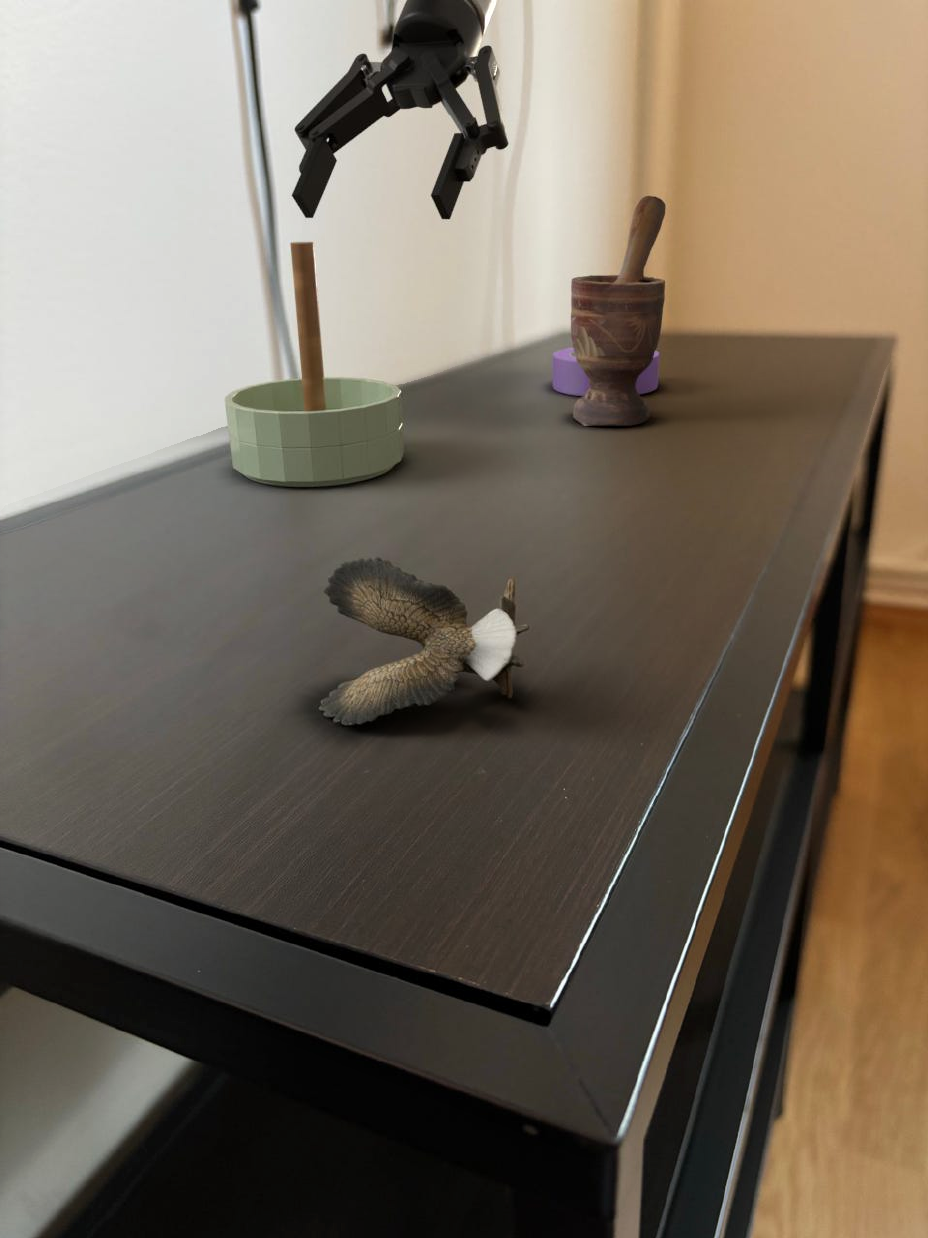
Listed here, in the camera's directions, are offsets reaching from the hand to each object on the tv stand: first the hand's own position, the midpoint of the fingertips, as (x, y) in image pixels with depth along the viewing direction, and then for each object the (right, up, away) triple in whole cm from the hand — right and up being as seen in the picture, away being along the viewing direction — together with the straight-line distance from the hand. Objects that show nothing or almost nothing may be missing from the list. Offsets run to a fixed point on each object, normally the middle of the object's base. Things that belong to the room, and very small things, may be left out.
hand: (368, 207), depth 84 cm
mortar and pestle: (+23, -15, +14) cm, 31 cm away
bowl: (-4, -22, -1) cm, 22 cm away
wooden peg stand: (-4, -21, -1) cm, 22 cm away
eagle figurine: (+6, -39, -38) cm, 55 cm away
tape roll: (+24, -9, +27) cm, 37 cm away
